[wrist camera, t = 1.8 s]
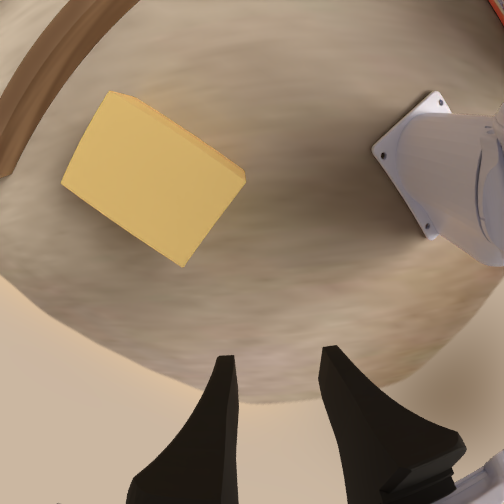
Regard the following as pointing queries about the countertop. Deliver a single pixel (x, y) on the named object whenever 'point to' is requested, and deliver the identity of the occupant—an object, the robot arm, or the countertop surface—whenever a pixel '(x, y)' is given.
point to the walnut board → (51, 70)
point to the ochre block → (152, 176)
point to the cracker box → (498, 8)
